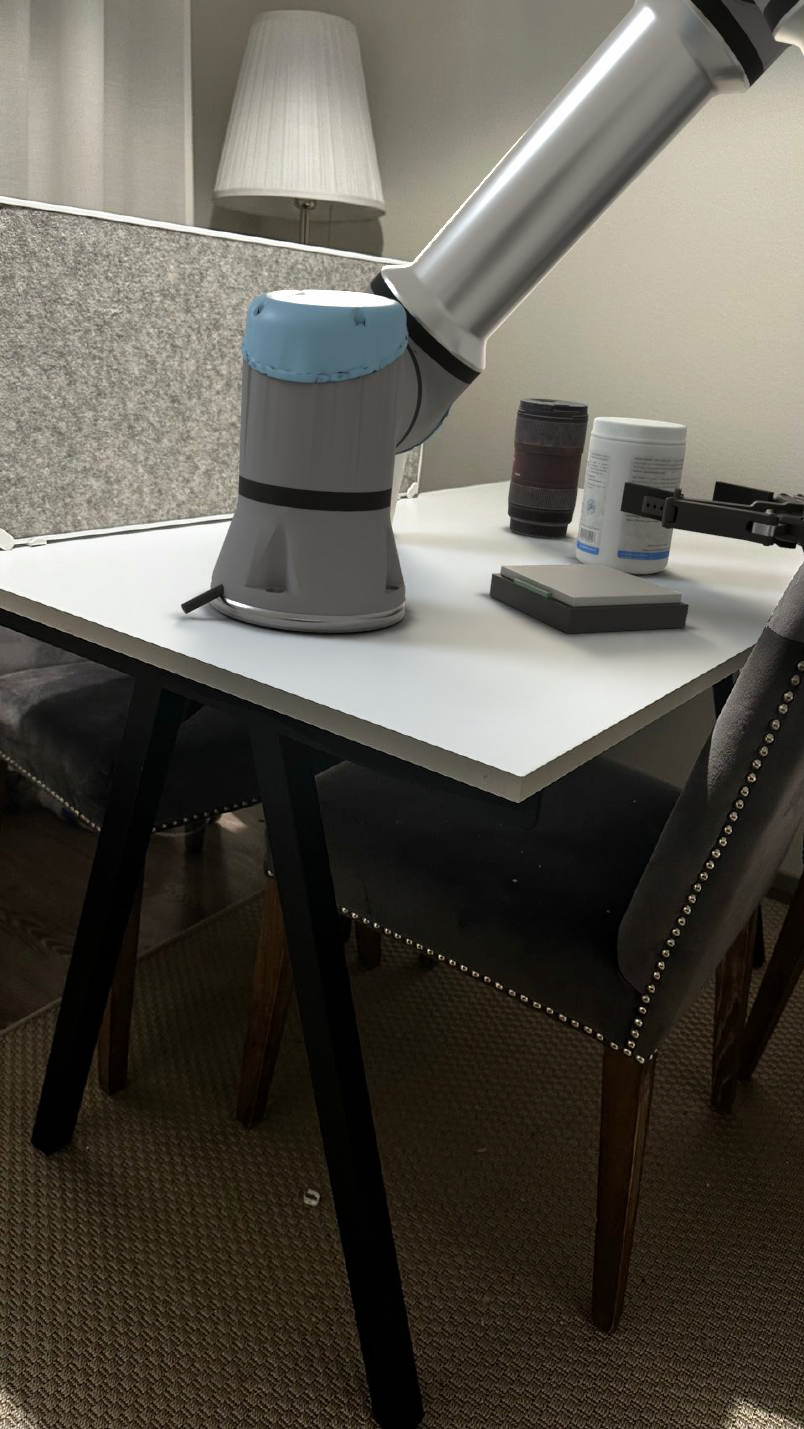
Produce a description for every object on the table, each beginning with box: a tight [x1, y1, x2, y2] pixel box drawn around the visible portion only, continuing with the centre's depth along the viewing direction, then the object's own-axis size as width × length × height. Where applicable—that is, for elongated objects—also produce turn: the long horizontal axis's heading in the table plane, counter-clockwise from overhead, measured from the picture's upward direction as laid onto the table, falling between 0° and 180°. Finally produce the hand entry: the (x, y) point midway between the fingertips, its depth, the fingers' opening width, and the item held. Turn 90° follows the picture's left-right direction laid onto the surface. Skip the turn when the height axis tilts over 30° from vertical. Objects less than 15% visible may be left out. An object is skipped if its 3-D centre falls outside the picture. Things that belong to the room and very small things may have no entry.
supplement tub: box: [575, 416, 688, 575], centre depth 112 cm, size 10×10×15 cm
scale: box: [489, 563, 690, 634], centre depth 93 cm, size 12×12×3 cm
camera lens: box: [507, 397, 590, 539], centre depth 126 cm, size 8×8×15 cm
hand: (671, 495), depth 108 cm, fingers open, 13 cm apart
